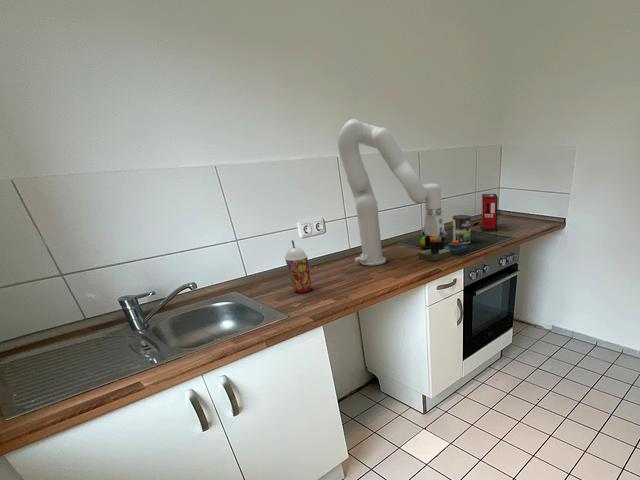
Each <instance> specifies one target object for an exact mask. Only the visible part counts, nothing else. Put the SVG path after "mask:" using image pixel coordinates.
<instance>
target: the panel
mask: <svg viewBox="0 0 640 480" xmlns="http://www.w3.org/2000/svg"><path fill="white" fill-rule="evenodd" d="M451 256H452V254H451V250H447V249H442V250H439V251H438V252H431V248H428V249H425V250H421V251H419V252H418V259H421V260H425V261H428V262H432V263H433V262H437V261H440V260H443V259H446V258H449V257H450V258H451Z"/></svg>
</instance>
